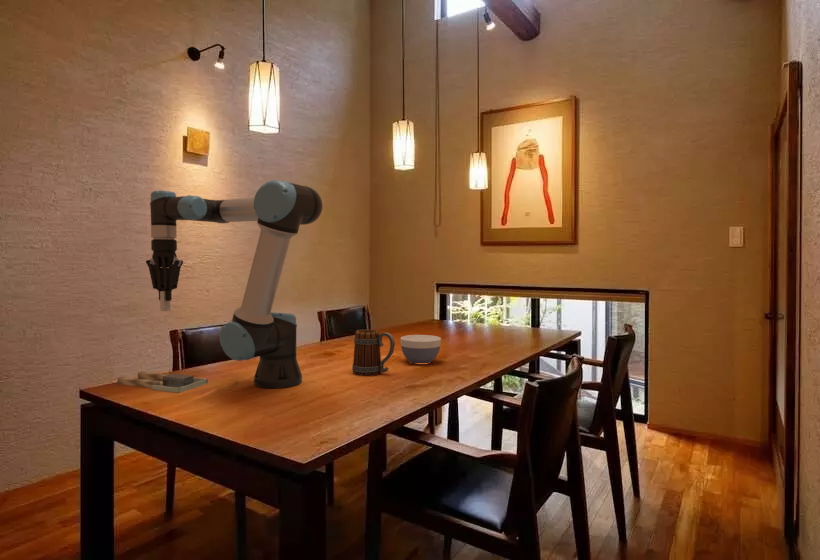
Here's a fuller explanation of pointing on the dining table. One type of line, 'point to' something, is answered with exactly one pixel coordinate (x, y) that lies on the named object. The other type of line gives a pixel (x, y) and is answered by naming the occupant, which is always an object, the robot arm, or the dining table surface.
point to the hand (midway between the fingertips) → (165, 310)
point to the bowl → (420, 348)
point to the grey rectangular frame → (177, 390)
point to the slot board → (143, 380)
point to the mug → (370, 352)
